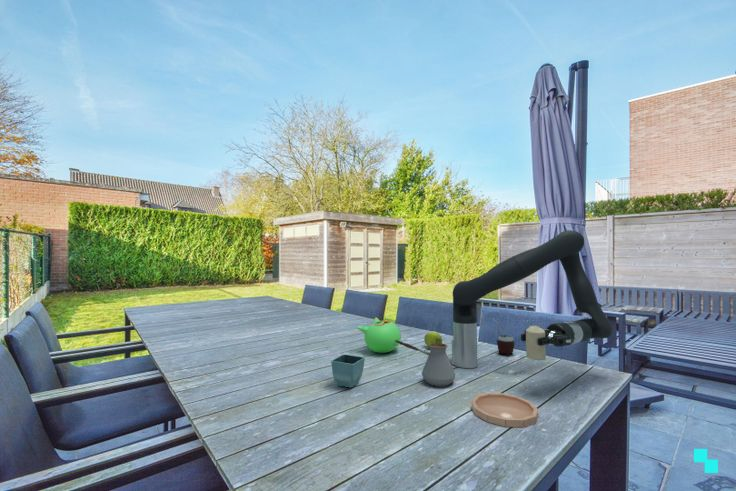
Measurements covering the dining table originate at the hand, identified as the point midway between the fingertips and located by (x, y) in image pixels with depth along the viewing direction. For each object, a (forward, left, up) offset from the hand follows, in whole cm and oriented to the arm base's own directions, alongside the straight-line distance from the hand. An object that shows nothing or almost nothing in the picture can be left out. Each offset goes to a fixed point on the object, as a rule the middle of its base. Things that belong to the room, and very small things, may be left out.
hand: (530, 339), depth 108 cm
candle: (+1, +2, -6) cm, 7 cm away
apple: (-47, +33, -18) cm, 60 cm away
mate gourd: (-17, +41, -18) cm, 48 cm away
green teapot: (-65, +16, -18) cm, 69 cm away
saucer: (-5, -16, -17) cm, 24 cm away
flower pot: (-54, -24, -18) cm, 61 cm away
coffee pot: (-33, -8, -18) cm, 38 cm away
